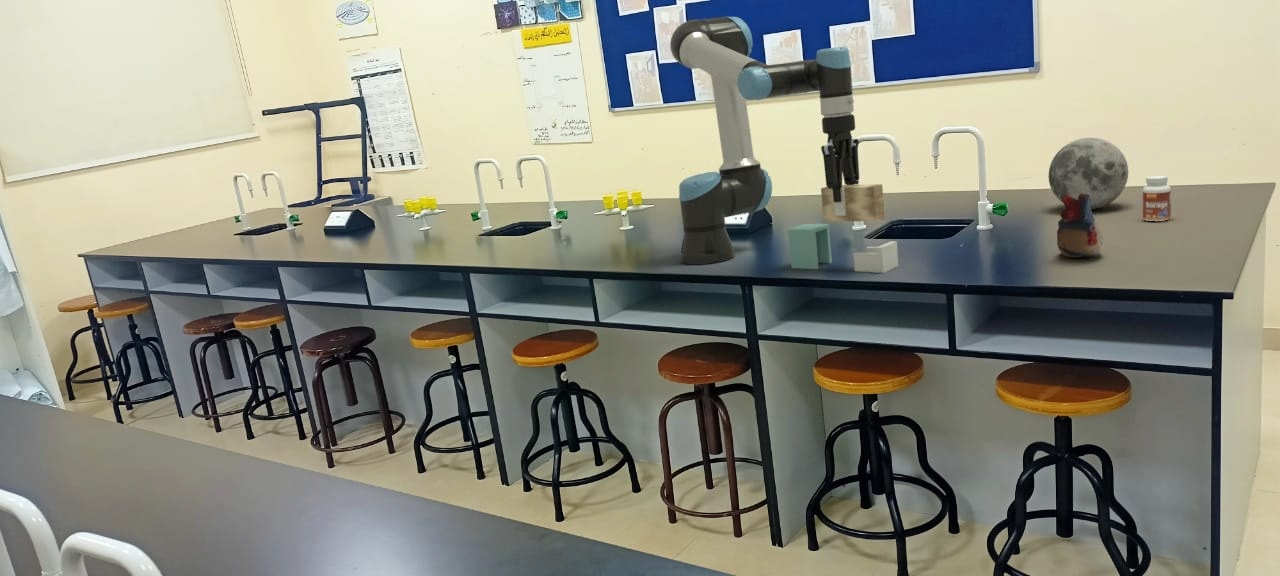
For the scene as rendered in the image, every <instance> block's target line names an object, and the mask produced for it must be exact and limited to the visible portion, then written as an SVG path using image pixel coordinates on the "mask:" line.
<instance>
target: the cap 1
mask: <svg viewBox="0 0 1280 576" xmlns="http://www.w3.org/2000/svg"><path fill="white" fill-rule="evenodd" d="M787 233H788V244H789V255H790V256H789V257H790V265H791V266H790V268H791V269H801V270H802V269H805V270H806V269H807V270H818V269H819V264H832V263H833V258H832V250H831V249H832V248H831V235H830V224H829V223H803V224H800V225H796V226H794V227H791V228H788V229H787Z"/></svg>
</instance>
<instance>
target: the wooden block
mask: <svg viewBox="0 0 1280 576" xmlns="http://www.w3.org/2000/svg"><path fill="white" fill-rule="evenodd" d="M842 188H844V191H845V203H846V215H845V216H835V212H834V200H833V190H832V189H828V187H827V186H824V187H822V188H820V191H821V192H820V194H821V202H822V204H821V206H822V214H823V215H822V216H823V218H822V219H823V222H878V221H881V220H883V219H885V208H884V192H883V191H884V189H883V184H881V183H879V184H878V183H877V184H854V185H846V184H842Z"/></svg>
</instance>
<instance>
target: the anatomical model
mask: <svg viewBox="0 0 1280 576" xmlns="http://www.w3.org/2000/svg"><path fill="white" fill-rule="evenodd" d="M1061 200H1062V202H1063V203H1062V202H1061V203H1062V204H1063V205H1064V207H1065V208H1064V209H1062V210H1061V211H1060V220H1059V221H1058V222H1057V224H1058V229H1057V231H1056V233H1057V234H1056V239H1057V241H1056V244H1057V249H1058V250H1059V252H1060V253H1061V254H1062V255H1063V256H1065V257H1068V258H1081V257H1083V258H1084V257H1089V258H1094V257H1097V256H1099V255H1101V251H1102V246H1103V244H1104V243H1103V242H1104V241H1103V235H1102V233H1101V229H1100V225H1099V224H1098V221H1097V220H1096V219H1095V216H1094V214H1093V211H1092V210H1091V208H1090V202H1091V197H1090V195H1088V194H1080V195H1079V196H1078V200H1077V199H1075V198H1073V197H1071V196H1070V195H1068V194H1063V195H1062V196H1061Z"/></svg>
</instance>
